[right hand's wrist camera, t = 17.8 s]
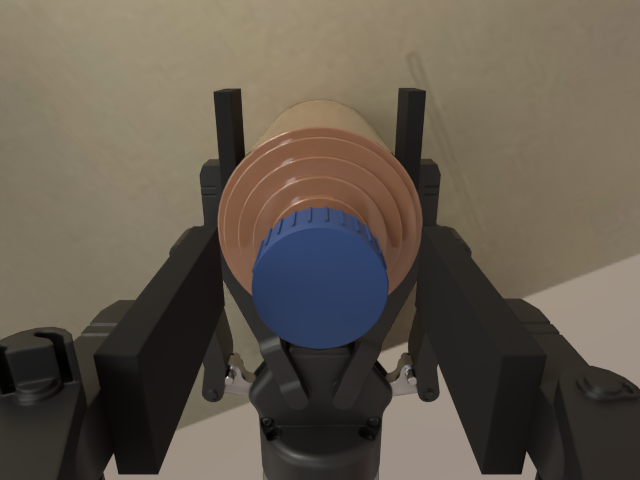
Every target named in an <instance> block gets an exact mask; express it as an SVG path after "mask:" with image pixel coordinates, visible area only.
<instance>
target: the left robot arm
mask: <svg viewBox="0 0 640 480" xmlns="http://www.w3.org/2000/svg"><path fill="white" fill-rule="evenodd" d="M425 97H426V91H424V90H420V89H416V88H399V94H398V111H397V129H396V146H395V157H396V159H397V160H398V161H399V162H400V164H401V165H402V166H403V167H404V169H405V170H406V171H407V173H408V175H409V176H410V178H411V180H412V181H413V184H414V186H415V188H416V191H417V193H418V197H419V201H420V204H421V210H422V226H439V225H437V224H436V218H437V208H438V197H439V195H438V194H439V186H440V176H441V175H440V171H439V168H438V165H437V164H436V163H435V162H434V161H433V160H431V159H421V149H422V136H423V123H424V110H425ZM214 103H215V115H216V127H217V139H218V151H219V159H209V160H208V161H207V162H206V163H205V164H204V165H203V166H202V169H201V173H200V184H201V194H202V204H203V214H204V225H203V226H218V212H219V204H220V201H221V197H222V194H223V191H224V189H225V186H226V184H227V182H228V180H229V178H230V176H231V175H232V173H233V172H234V170H235V168H236V167H237V166H238V165H239V164H240V162H241V161H242V160H243V159H244V157H245V148H244V133H243V117H242V101H241V89H222V90H218V91H215V92H214ZM191 229H192V228H189V229H187V230H186V231H185V232H184V233H183V234H182V235H181V237H180V238H179V239H178V240H177V242H176V243H175V244H174V245H173V247H172V248H171V250H170V252H169V254H170V256H171V254H172V253H173V252H174V250H175V249H176V248H177V247H178V245H179V244H180V243H181V241H182V240H183V239H184V238H185V236H186V235H187V234H188V233H189V231H190V230H191ZM448 229H449V230H450V231H451V233H452V234H453V235H454V236H455V238H456V239H457V240H458V241H459V243H460V244H461V245H462V247H463V248H464V249H465V250H466V252H467V253H468V254H469V256H470V257H471V250H470V248H469V246H468V245H467V244H466V243H465V241H464V240H463V239H462V238H461V236H460V235H459V234H458V233H457V232H456V231H455V230H454V229H453V228H450V227H448ZM219 243H220V242H219ZM420 243H421V242H420ZM220 255H221V267H222V278H223V280H224V282H225V284H226V285H227V287H228V289H229V291H230V293H231V294H232V296H233V298H234V300H235V301H236V303H237V305H238V307H239V309H240V310H241V312H242V314H243V316H244V317H245V319H246V321H247V323H248V325H249V326H250V328H251V330H252V332H253V333H254V335H255V337H256V339H257V340H258V342H259V345H260V351H261V354H262V357H263V358H264V361H263V362H262V364H261V365H260V366H259V367H258V368H257V370H256V371H255V372H254V373H250V372H248V371H247V370H246V369H245V367H244V364H243V361H242V359H241V358H240V355H239V354H238V353H233V339H232V334H231V331H230V327H229V323H228V320H227V316H226V313H225V309H223V311H222V314H221V316H220V319H219V321H218V324H217V326H216V329H215V331H214V334H213V336H212V339H211V341H210V344H209V347H208V349H207V352H206V354H205V357H204V359H203V364H204V368H205V370H204V379H203V388H202V396H203V397H204V399H206V400H207V401H210V402H217V401H219V400H221V399H222V397H223V394H224V393H230V394H237V395H244V396H249V399H250V401H251V403H252V404H253V406H254V407H255V408H256V410H257V412H258V414H259V422H260V436H261V451H262V466H263V480H379V464H380V447H381V431H382V416H383V412H384V410H385V408H386V407H387V406H388V405H389V403H390V402H391V399H392V396H398V395H405V394H411V393H418V395H419V398H420V399H421V400H422V401H425V402H431V401H434V400H436V399H437V398H438V396H439V383H438V375H437V365H438V362H437V359H436V357H435V354H434V352H433V349H432V347H431V344H430V341H429V339H428V336H427V334H426V331H425V329H424V326H423V324H422V321H421V319H420V316H419V314H418V311H417V309H416V313H415V316H414V320H413V324H412V328H411V331H410V335H409V340H408V353H403V354H402V355H401V358H400V359H399V361H398V365H397V368H396V370H395V371H393V372H391V373H387V372H386V370H385V369H384V368H383V367H382V365H381V364H380V363H379V362H378V361H377V358H378V357H379V354H380V351H381V345H382V342H383V340H384V338H385V337H386V335H387V333H388V331H389V329H390V328H391V326H392V324H393V322H394V320H395V319H396V317H397V315H398V313H399V311H400V310H401V308H402V306H403V304H404V302H405V301H406V299H407V297H408V295H409V293H410V292H411V290H412V288H413V286H414V284H415V283H416V281H417V278H418V267H419V255H420V246H419V249H418V253H417V256H416V258H415V260H414V262H413V265H412V267H411V269H410V270H409V272H408V273H407V275H406V276H405V278H404V279H403V280H402V282H401V283H400V284H399V285H398V286H397V288H396V289H394V290H393V291H392V292H391V293H390V294H389V295H388V299H387V302H386V306H385V308H384V310H383V313H382V315H381V316H380V318H379V319H378V321H377V322H376V323H375V325H374V326H373V327H372V328H371V329H370V330H369V331H368V332H367V333H365V334H364V335H363V336H361V337H360V338H358V339H356V340H355V341H353V342H350V343H348V344H346V345H342V346H339V347H334V348H327V349H312V348H306V347H301V346H298V345H295V344H292V343H290V342H287V341H286V340H284V339H282V338H280V337H279V336H278V335H276V334H275V333H273V332H272V331H271V330H270V329H269V328H268V327H267V326H266V324H265V323H264V322H263V321H262V319H261V318H260V316H259V314H258V312H257V310H256V308H255V305H254V302H253V298H252V295H251V294H250V293H249V292H248V291H247V290H246V289H245V288H244V287H243V286H242V285H241V284H240V283H239V281H238V280H237V279H236V278H235V276H234V275H233V273H232V271H231V270H230V268H229V266H228V265H227V262H226V260H225V258H224V255H223V253H222V249H221V246H220Z"/></svg>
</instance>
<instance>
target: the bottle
mask: <svg viewBox="0 0 640 480" xmlns="http://www.w3.org/2000/svg"><path fill="white" fill-rule="evenodd" d="M325 206H326V207H327V208H330V209H336V210H339V211H340V209H341V210H343V212H345V213H347V214H349V215H351V216H353V217H354V216H356V217H357V219H358V220H359V221H360V222H361V223H363V224H364V225H365V226H366V225H367V226H368V227H369V230H370V232H371V233H372V235H373V236H374V237H376V238H377V240H378V243H379V246H380V250H382V253H383V256H384V259H385V262H386V265H387V269H386V272H387V277H388V280H389V284H388V285H389V291H388V295H389V294H390V293H391V292H392V291H393V290H394V289H396V288H397V286H398V285H399V284H400V283H401V282H402V280H403V279H404V278H405V276H406V275H407V273H408V272H409V270H410V269H411V267H412V265H413V262H414V260H415V258H416V256H417V253H418V249H419V246H420V242H421V232H422V210H421V204H420V201H419V197H418V193H417V191H416V188H415V186H414V184H413V181H412V180H411V178H410V176H409V175H408V173H407V171H406V170H405V169H404V167H403V166H402V165H401V164H400V162H399V161H398V160H397V159H396V157H395V156H394V155H393V154H392V152H391V151H390V150H389V149H388V147H387V146H386V145H385V144H384V142H383V141H382V140H381V139H380V138H379V136H378V135H377V134H376V133H375V131H374V130H373V129H372V128H371V126H370V125H369V124H368V123H367V121H366V120H365V119H364V118H363V117H362V116H361V115H360V114H358V113H357V112H356V111H354V110H353V109H351V108H349V107H347V106H346V105H343V104H340V103H338V102H333V101H329V100H312V101H306V102H303V103H300V104H297V105H295V106H293V107H291V108H289V109H287V110H286V111H284V112H283V113H282V114H281V115H279V116H278V117H277V118H276V119H275V120H274V122H273V123H272V124H271V125H270V126H269V128H268V129H267V130H266V131H265V133H264V134H263V135H262V136H261V138H260V139H259V140H258V141H257V142H256V144H255V145H254V146H253V147H252V149H251V150H250V151H249V152H248V154H247V155H246V156H245V157H244V159H243V160H242V161H241V162H240V164H239V165H238V166H237V167H236V168H235V170H234V172H233V173H232V175H231V176H230V178H229V180H228V182H227V184H226V186H225V189H224V191H223V194H222V197H221V201H220V204H219V212H218V232H219V242H220V246H221V249H222V253H223V255H224V258H225V260H226V262H227V265H228V266H229V268H230V270H231V271H232V273H233V275H234V276H235V278H236V279H237V280H238V281H239V283H240V284H241V285H242V286H243V287H244V288H245V289H246V290H247V291H248V292H249V293H250V294H251V295H252V287H251V285H252V277H253V273H252V270H253V267H254V264H255V261H256V257H257V254H258V251H259V248H260V245H261V242H262V240H265V238H266V237H267V235H268V232H269V229H270V228H272V229H273V227H274V226H275V225H276V224H278V223H279V221H280V219H281V218H283V219H284V218H286V217H287V216H289V215H291V214H293V212H294V211H296V212H298V211H301V210H305V209H309V207H311V208H324V207H325Z"/></svg>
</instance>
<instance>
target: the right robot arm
mask: <svg viewBox="0 0 640 480" xmlns="http://www.w3.org/2000/svg"><path fill="white" fill-rule="evenodd" d="M224 306H225V302H224V290H223V278H222V267H221V255H220V243H219V232H218V226H193V227H192V229H191V230H190V231H189V233H188V234H187V235H186V236H185V238H184V239H183V240H182V241H181V243H180V244H179V245H178V247H177V248H176V249H175V250H174V252H173V253H172V254H171V256H170V257H169V258H168V259H167V261H166V262H165V263H164V265H163V266H162V267H161V268H160V270H159V271H158V272H157V274H156V275H155V276H154V277H153V279H152V280H151V281H150V283H149V284H148V285H147V286H146V288H145V289H144V290H143V292H142V293H141V294H140V295H139V297H138V298H137V299H136V300H119V301H117V302H115V303H114V304H112V305H110V306H109V307H107V308H105V309H104V310H102V311H101V312H100V313H99V314H98V315H97V316H96V317H95V318H94V320H93V321H92V322H91V323H90V326H87V327H86V329H85V330H84V331H83V332H82V333H81V336H79V337H78V338H77V339H76V340H75V341H74V342H73V339H72V334H71V333H69V332H68V331H66V330H65V329H61V328H56V327H45V328H35V329H31V330H26V331H22V332H19V333H16V334H14V335H11V336H9V337H6V338H4V339H2V340H0V480H105V478H104V473H103V472H104V470H105V468H106V466H107V464H108V462H109V460H110V458H111V457H112V455H113V453H114V455H115V460H116V465H117V469H118V474H158V473H159V471H160V468H161V466H162V463H163V461H164V458H165V456H166V453H167V450H168V448H169V445H170V443H171V440H172V438H173V435H174V433H175V430H176V428H177V425H178V423H179V420H180V418H181V415H182V412H183V410H184V407H185V405H186V402H187V400H188V397H189V395H190V392H191V390H192V387H193V385H194V382H195V379H196V377H197V374H198V372H199V369H200V367H201V364H202V362H203V359H204V357H205V354H206V352H207V349H208V347H209V344H210V341H211V339H212V336H213V334H214V331H215V329H216V326H217V324H218V321H219V319H220V316H221V314H222V311H223V309H224ZM415 306H416V309H417V311H418V314H419V316H420V319H421V321H422V324H423V326H424V329H425V331H426V334H427V336H428V339H429V341H430V344H431V347H432V349H433V352H434V354H435V357H436V359H437V362H438V364H439V367H440V369H441V372H442V374H443V377H444V379H445V382H446V385H447V387H448V390H449V392H450V395H451V397H452V400H453V402H454V405H455V407H456V410H457V412H458V415H459V418H460V420H461V423H462V425H463V428H464V430H465V433H466V435H467V438H468V440H469V443H470V445H471V448H472V450H473V453H474V456H475V458H476V461H477V463H478V466H479V468H480V471H481V473H482V474H521V473H522V469H523V464H524V460H525V455H526V451H527V452H528V454H529V456H530V458H531V460H532V462H533V464H534V465H535V467H536V469H537V473H536V478H535V480H640V389H639V388H638V387H637V386H636V385H634V384H633V383H632V382H630V381H629V380H627V379H626V378H625V377H622V376H620V375H618V374H616V373H614V372H612V371H609V370H606V369H602V368H598V367H594V366H589V365H588V364H587V362H586V361H585V360H584V359H583V358H582V357H581V356H580V355H579V354H578V352H577V351H576V350H575V349H574V348H573V347H572V346H571V345H570V343H569V342H568V341H567V340H566V339H565V338H564V337H563V336H562V335H560V334H559V331H558V330H557V329H556V328H555V327H554V325H553V324H550V321H549V320H548V319H547V318H546V317H545V315H544V314H543V313H542V312H541V311H540V310H539V309H538V308H536V307H534V306H533V305H531V304H529V303H528V302H526V301H524V300H522V299H503V298H502V297H501V295H500V294H499V293H498V292H497V290H496V289H495V288H494V286H493V285H492V284H491V283H490V281H489V280H488V279H487V277H486V276H485V275H484V274H483V272H482V271H481V270H480V268H479V267H478V266H477V265H476V263H475V262H474V261H473V259H472V258H471V257H470V256H469V254H468V253H467V252H466V250H465V249H464V248H463V247H462V245H461V244H460V243H459V241H458V240H457V239H456V238H455V236H454V235H453V234H452V233H451V231H450V230H449V229H448V227H447V226H422V232H421V243H420V255H419V267H418V278H417V290H416V302H415Z"/></svg>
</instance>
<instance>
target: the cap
mask: <svg viewBox="0 0 640 480" xmlns="http://www.w3.org/2000/svg"><path fill="white" fill-rule="evenodd" d="M386 269H387V265H386V262H385V259H384V256H383V253H382V250H380V246H379V243H378V240H377V238H376V237H374V236H373V235H372V233H371V232H370V230H369V227H368V226H367V225H366V226H365V225H364V224H363V223H361V222H360V221H359V220H358V219H357V217H356V216H354V217H353V216H351V215H349V214H347V213H345V212H343V210H341V209H340V211H339V210H336V209H330V208H327V207H326V206H325V207H324V208H311V207H309V209H305V210H301V211H298V212H296V211H294V212H293V214H291V215H289V216H287V217H286V218H284V219H283V218H281V219H280V221H279V223H278V224H276V225H275V226H274V227H273V229H272V228H270V229H269V232H268V235H267V237H266V238H265V240H262V242H261V245H260V248H259V251H258V254H257V257H256V261H255V264H254V267H253V270H252V273H253V277H252V285H251V287H252V298H253V302H254V305H255V308H256V310H257V312H258V314H259V316H260V318H261V319H262V321H263V322H264V323H265V324H266V326H267V327H268V328H269V329H270V330H271V331H272V332H273V333H275V334H276V335H278V336H279V337H280V338H282V339H284V340H286V341H287V342H290V343H292V344H295V345H298V346H301V347H306V348H312V349H327V348H334V347H339V346H342V345H346V344H348V343H350V342H353V341H355V340H356V339H358V338H360V337H361V336H363V335H364V334H365V333H367V332H368V331H369V330H370V329H371V328H372V327H373V326H374V325H375V323H376V322H377V321H378V319H379V318H380V316H381V315H382V313H383V310H384V308H385V306H386V302H387V299H388V291H389V285H388V284H389V280H388V277H387V272H386Z"/></svg>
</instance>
